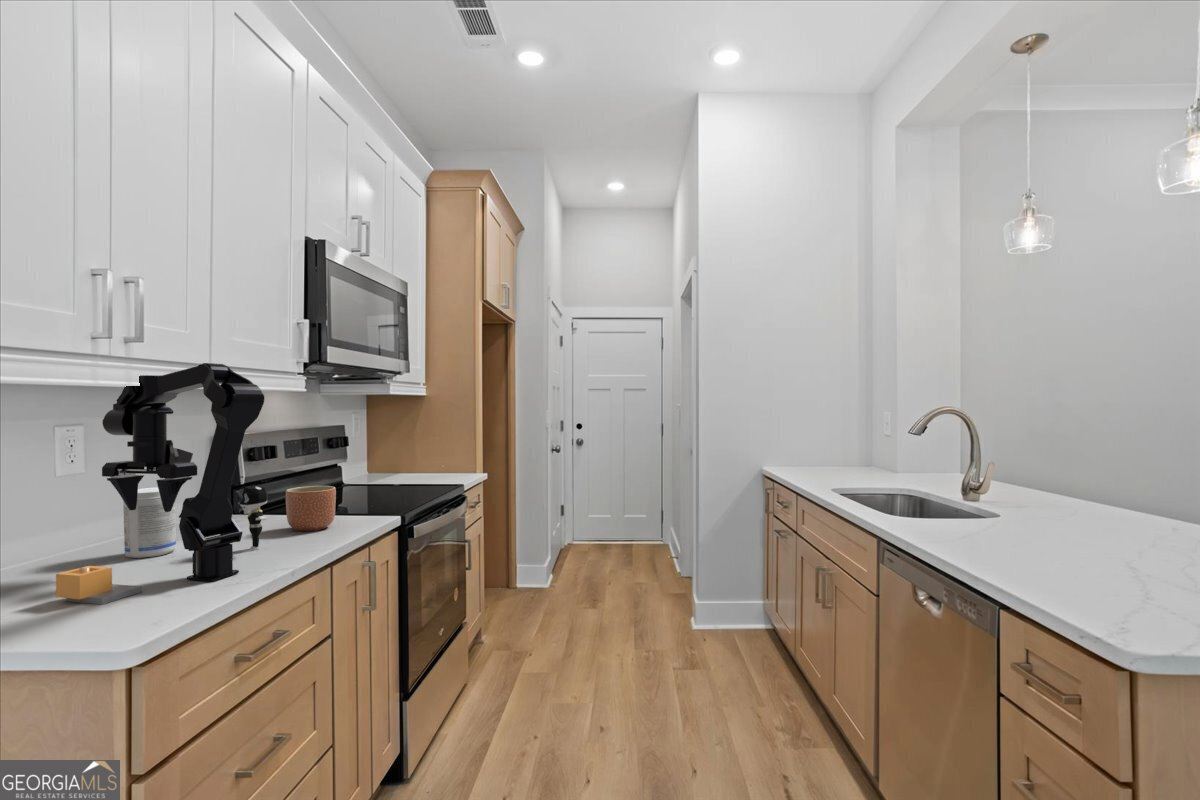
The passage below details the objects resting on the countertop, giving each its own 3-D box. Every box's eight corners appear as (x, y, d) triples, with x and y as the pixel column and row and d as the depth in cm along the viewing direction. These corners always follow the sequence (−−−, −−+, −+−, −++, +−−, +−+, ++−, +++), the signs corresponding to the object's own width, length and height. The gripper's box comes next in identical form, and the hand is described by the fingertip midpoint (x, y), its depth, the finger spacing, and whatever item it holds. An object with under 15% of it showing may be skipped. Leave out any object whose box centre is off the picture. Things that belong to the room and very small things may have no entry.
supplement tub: (185, 548, 145) (184, 486, 145) (158, 558, 136) (158, 492, 136) (142, 549, 144) (142, 486, 145) (112, 559, 135) (112, 492, 135)
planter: (332, 522, 176) (332, 484, 176) (339, 530, 165) (339, 489, 165) (283, 527, 169) (283, 487, 169) (288, 535, 159) (287, 493, 159)
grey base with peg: (141, 591, 112) (141, 561, 112) (102, 604, 105) (102, 572, 105) (107, 588, 114) (107, 559, 114) (66, 600, 107) (66, 569, 107)
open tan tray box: (112, 589, 110) (111, 567, 110) (79, 599, 104) (79, 575, 104) (88, 587, 111) (88, 565, 111) (55, 597, 106) (55, 573, 106)
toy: (233, 546, 147) (232, 483, 147) (261, 542, 151) (261, 481, 151) (246, 556, 137) (246, 489, 137) (276, 552, 141) (276, 486, 141)
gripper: (219, 434, 133) (219, 506, 133) (150, 433, 137) (151, 503, 137) (172, 437, 122) (172, 515, 122) (99, 436, 127) (100, 511, 127)
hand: (150, 510), depth 127 cm, fingers open, 9 cm apart
